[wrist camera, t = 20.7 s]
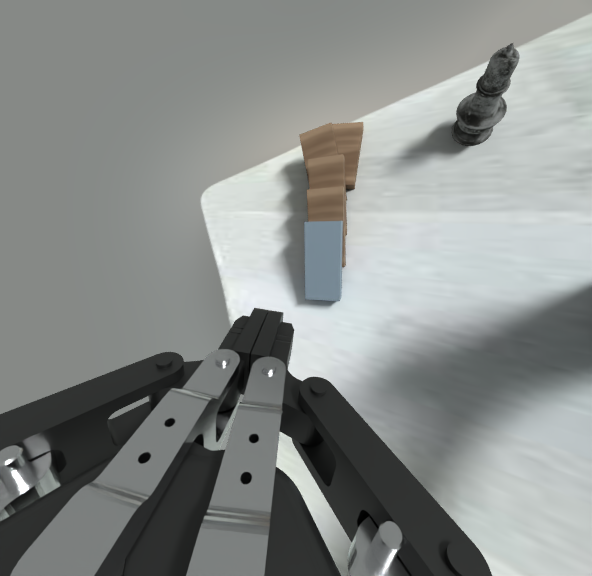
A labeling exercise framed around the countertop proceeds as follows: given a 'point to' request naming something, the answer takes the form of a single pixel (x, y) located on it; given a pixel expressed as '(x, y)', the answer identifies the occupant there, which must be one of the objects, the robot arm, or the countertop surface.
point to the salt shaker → (486, 100)
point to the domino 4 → (349, 148)
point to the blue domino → (323, 260)
